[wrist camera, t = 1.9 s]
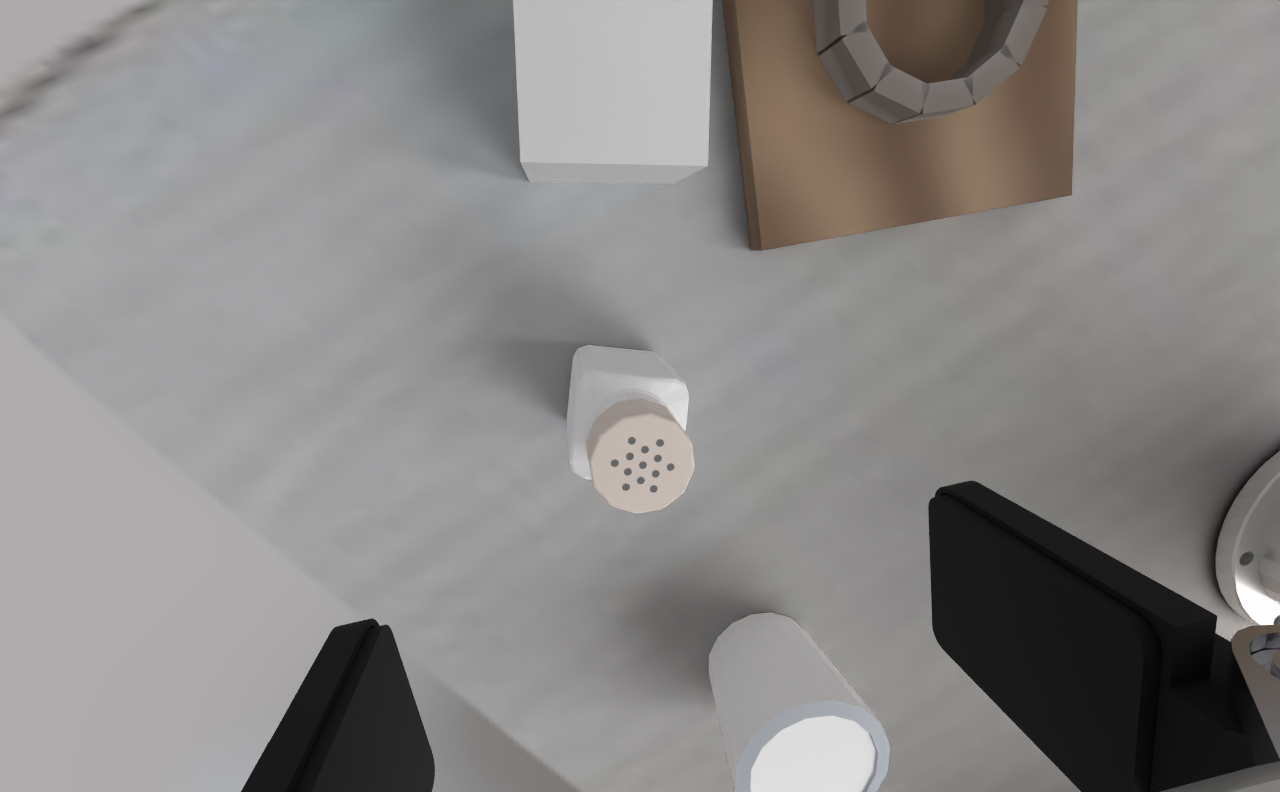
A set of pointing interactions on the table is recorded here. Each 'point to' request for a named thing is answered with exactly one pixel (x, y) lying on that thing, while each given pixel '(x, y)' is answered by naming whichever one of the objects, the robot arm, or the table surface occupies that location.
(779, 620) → the shot glass
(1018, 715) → the robot arm
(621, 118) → the white cube
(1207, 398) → the table surface
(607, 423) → the salt shaker
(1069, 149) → the carrier board
